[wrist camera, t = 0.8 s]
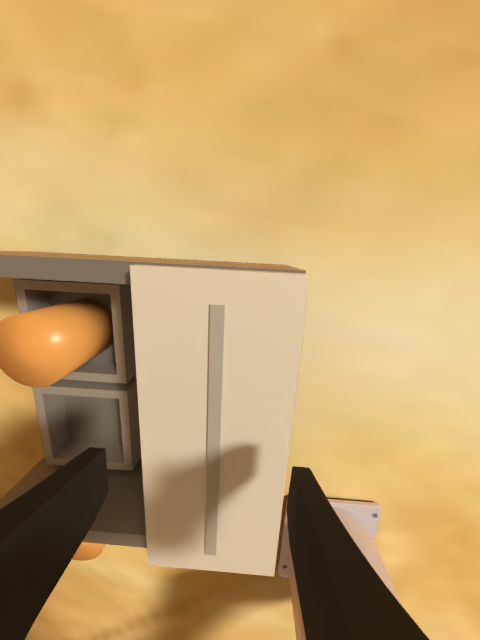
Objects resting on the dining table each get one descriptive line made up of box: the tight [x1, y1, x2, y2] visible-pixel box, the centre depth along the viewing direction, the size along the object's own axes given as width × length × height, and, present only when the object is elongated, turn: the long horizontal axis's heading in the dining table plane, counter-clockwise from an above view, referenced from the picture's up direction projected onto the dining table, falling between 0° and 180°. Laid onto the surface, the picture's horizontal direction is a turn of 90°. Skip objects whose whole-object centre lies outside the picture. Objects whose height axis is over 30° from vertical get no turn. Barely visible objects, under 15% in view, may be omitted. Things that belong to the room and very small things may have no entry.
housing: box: [0, 251, 306, 548], centre depth 16 cm, size 17×18×7 cm
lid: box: [130, 264, 310, 576], centre depth 12 cm, size 17×7×1 cm, turn 177°
